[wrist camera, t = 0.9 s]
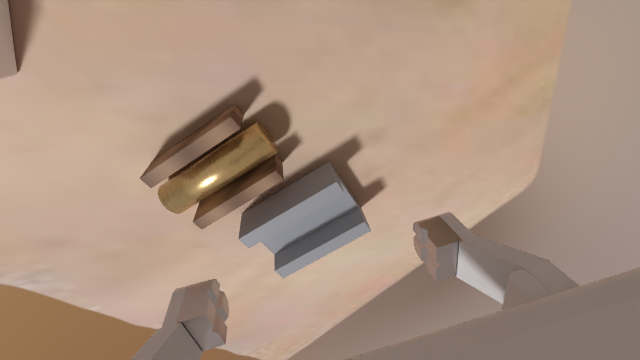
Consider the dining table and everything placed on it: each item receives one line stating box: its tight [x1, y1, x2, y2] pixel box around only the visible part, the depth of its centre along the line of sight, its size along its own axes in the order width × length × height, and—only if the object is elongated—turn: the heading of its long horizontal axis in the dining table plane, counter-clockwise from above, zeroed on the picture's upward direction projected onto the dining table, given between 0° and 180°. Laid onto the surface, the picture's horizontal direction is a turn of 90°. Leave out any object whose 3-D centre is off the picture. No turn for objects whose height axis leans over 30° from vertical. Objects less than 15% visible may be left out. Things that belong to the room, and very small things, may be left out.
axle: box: [158, 122, 278, 214], centre depth 33 cm, size 14×4×4 cm, turn 121°
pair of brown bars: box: [140, 104, 284, 229], centre depth 33 cm, size 12×9×4 cm
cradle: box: [239, 161, 371, 278], centre depth 38 cm, size 14×10×5 cm
